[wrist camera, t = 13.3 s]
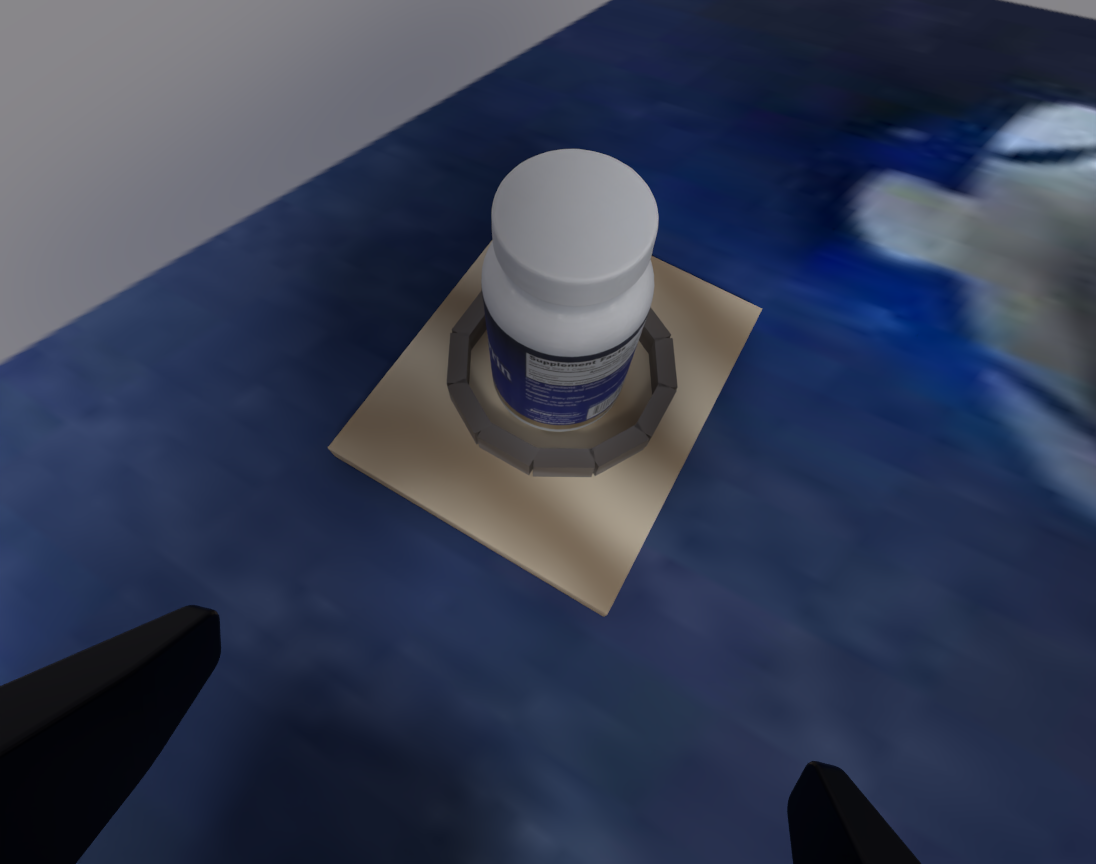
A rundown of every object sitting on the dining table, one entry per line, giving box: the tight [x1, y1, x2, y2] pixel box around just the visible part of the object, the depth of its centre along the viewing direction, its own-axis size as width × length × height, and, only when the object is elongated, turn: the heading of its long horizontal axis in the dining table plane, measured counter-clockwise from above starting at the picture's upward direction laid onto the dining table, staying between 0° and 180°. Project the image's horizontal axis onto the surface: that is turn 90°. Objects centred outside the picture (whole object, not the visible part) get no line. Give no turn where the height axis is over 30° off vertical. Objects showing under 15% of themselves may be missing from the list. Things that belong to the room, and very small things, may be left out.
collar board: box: [328, 240, 762, 617], centre depth 25 cm, size 16×13×2 cm
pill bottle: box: [481, 149, 658, 432], centre depth 20 cm, size 6×6×10 cm
